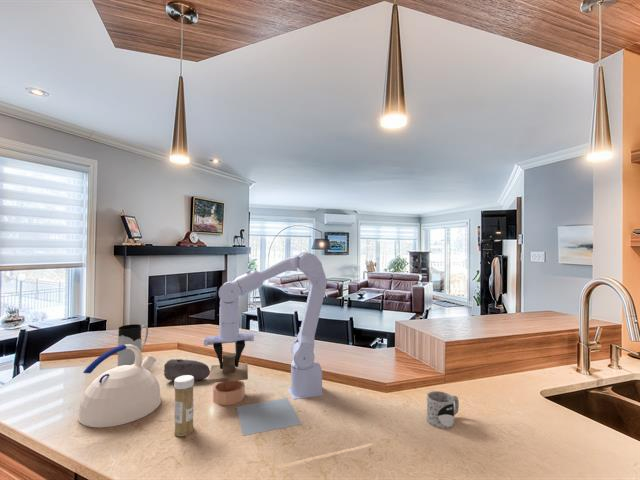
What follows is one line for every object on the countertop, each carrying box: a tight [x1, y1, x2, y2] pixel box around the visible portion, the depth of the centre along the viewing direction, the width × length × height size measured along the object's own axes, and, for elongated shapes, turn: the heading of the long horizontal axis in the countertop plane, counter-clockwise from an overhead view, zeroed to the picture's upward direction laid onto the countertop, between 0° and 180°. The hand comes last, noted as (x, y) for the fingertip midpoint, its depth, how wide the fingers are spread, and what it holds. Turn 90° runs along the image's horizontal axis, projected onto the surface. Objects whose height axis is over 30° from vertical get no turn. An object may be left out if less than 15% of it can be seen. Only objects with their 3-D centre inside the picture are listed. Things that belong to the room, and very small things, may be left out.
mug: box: [426, 390, 460, 430], centre depth 87 cm, size 10×7×7 cm, turn 117°
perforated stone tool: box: [163, 358, 211, 382], centre depth 113 cm, size 15×5×7 cm, turn 90°
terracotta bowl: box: [212, 380, 246, 406], centre depth 99 cm, size 9×9×4 cm
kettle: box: [77, 344, 162, 429], centre depth 94 cm, size 20×21×18 cm
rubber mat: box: [236, 397, 303, 436], centre depth 89 cm, size 15×15×1 cm
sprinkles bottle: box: [173, 375, 195, 438], centre depth 82 cm, size 5×5×14 cm
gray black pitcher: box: [116, 324, 149, 367], centre depth 128 cm, size 9×14×15 cm, turn 171°
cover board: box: [207, 352, 249, 384], centre depth 99 cm, size 11×11×6 cm
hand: (229, 366), depth 99 cm, fingers closed on cover board, 4 cm apart
